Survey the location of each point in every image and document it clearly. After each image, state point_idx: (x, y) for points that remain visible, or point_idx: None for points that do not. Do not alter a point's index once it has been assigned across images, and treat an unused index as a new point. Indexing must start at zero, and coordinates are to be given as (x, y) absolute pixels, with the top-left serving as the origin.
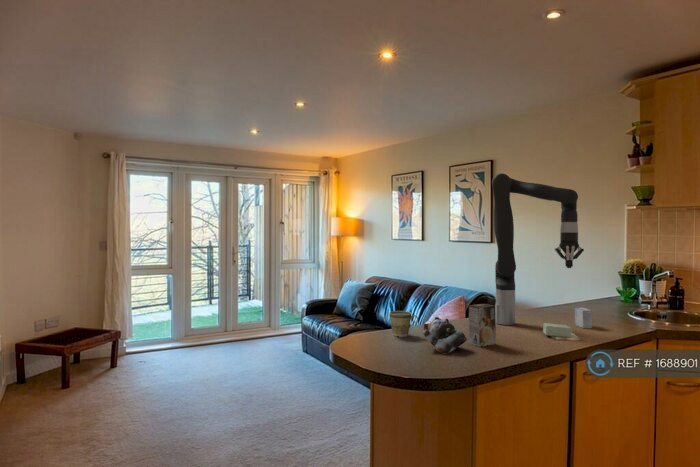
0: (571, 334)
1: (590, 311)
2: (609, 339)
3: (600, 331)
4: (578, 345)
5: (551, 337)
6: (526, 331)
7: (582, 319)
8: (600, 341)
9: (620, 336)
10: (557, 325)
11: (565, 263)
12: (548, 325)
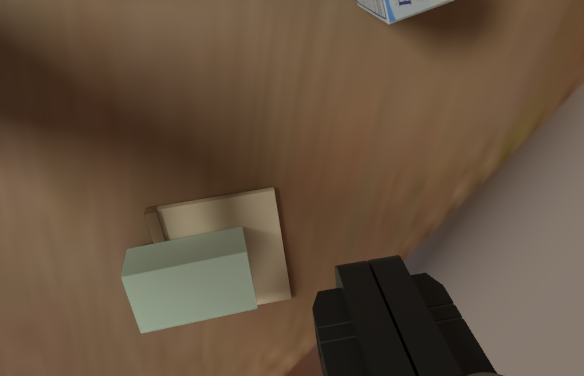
0: (263, 224)
1: (444, 3)
2: (417, 226)
3: (434, 60)
4: (269, 358)
5: None
6: (39, 208)
7: (369, 7)
8: None
9: (491, 148)
10: (194, 291)
11: (320, 344)
12: (150, 321)
